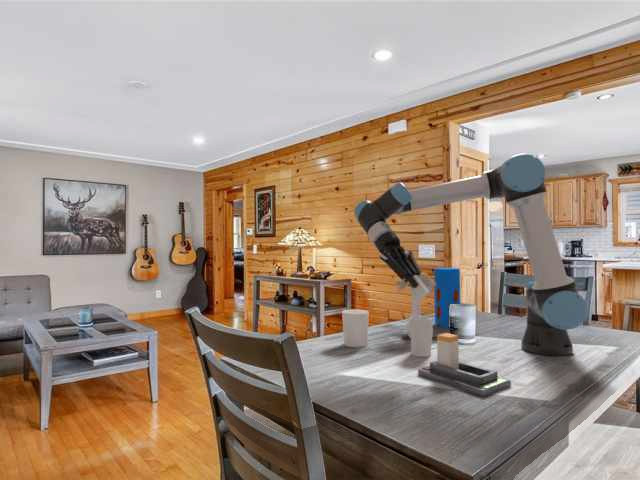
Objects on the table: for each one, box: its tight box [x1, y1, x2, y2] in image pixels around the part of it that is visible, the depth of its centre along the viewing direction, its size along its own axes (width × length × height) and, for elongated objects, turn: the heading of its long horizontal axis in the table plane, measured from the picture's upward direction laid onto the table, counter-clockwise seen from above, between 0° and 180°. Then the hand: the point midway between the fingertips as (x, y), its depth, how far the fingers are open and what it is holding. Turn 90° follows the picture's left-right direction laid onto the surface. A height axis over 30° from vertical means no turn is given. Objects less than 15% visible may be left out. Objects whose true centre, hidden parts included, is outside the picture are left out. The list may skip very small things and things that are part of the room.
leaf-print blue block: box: [433, 267, 461, 329], centre depth 178 cm, size 11×11×25 cm
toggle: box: [436, 332, 460, 369], centre depth 112 cm, size 4×4×9 cm
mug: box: [409, 315, 434, 358], centre depth 134 cm, size 10×7×12 cm, turn 131°
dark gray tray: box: [417, 360, 512, 398], centre depth 108 cm, size 20×12×4 cm, turn 35°
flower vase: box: [395, 273, 436, 339], centre depth 158 cm, size 13×18×25 cm
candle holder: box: [341, 308, 370, 349], centre depth 146 cm, size 10×10×12 cm
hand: (425, 294), depth 118 cm, fingers closed
